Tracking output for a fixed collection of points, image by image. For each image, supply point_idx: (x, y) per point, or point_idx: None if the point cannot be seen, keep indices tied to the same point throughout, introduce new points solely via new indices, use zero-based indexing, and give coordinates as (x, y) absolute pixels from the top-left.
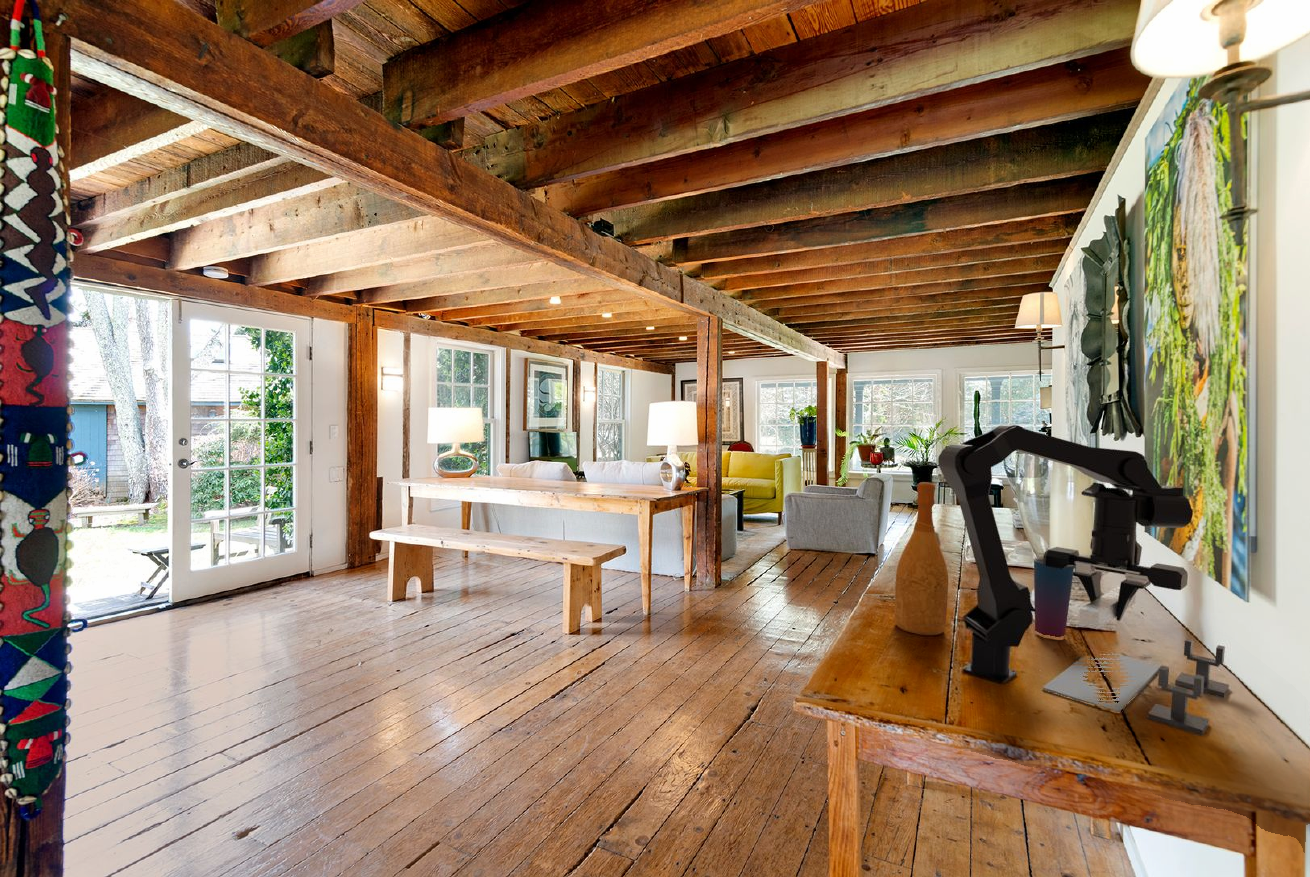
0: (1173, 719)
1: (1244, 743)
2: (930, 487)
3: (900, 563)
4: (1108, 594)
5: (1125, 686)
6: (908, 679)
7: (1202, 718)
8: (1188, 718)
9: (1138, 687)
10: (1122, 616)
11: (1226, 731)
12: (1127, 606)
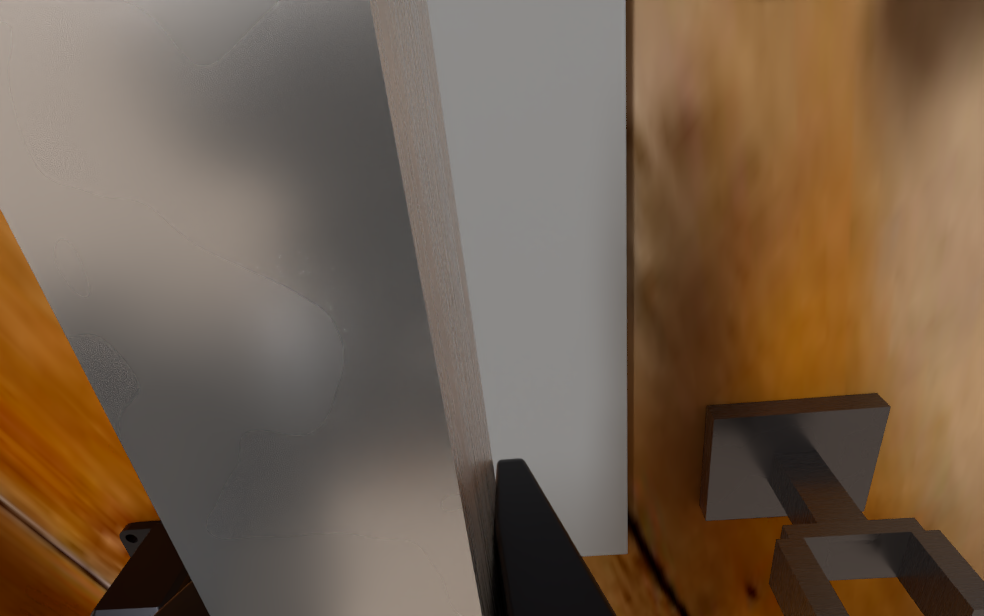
0: (779, 504)
1: (972, 444)
2: None
3: None
4: (205, 510)
5: (574, 312)
6: None
7: (868, 417)
8: (823, 459)
9: (617, 270)
10: (535, 483)
11: (930, 395)
12: (589, 580)
